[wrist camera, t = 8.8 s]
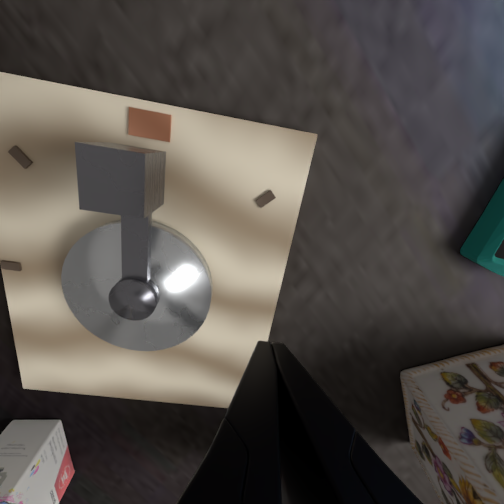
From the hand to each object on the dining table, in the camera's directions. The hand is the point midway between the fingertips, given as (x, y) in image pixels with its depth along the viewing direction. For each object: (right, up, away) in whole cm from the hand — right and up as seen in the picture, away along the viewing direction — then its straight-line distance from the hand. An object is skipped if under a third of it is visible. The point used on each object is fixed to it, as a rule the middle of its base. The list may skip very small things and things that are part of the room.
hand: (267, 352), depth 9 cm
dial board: (-8, +1, +13) cm, 15 cm away
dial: (-8, +3, +10) cm, 13 cm away
